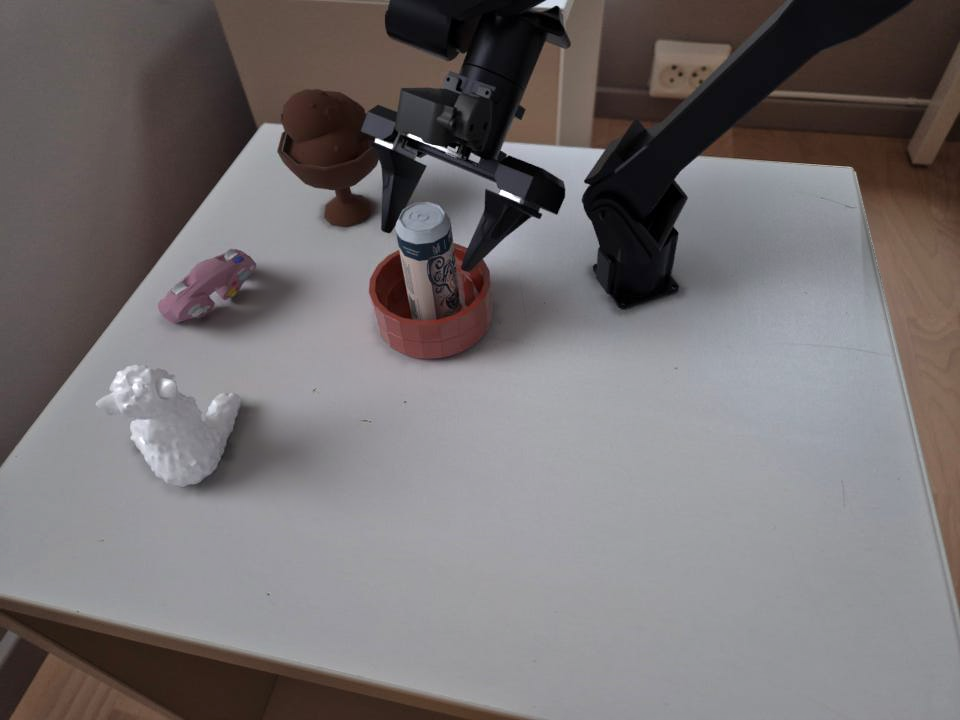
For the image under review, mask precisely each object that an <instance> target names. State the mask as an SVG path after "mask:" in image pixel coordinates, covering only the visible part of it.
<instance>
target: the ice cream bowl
mask: <svg viewBox="0 0 960 720" xmlns="http://www.w3.org/2000/svg"><path fill="white" fill-rule="evenodd" d="M366 114H367V112H366V110H365V108H364V106H362V105H361V104H360V103H359V102H358V101H355V100H354V99H353V98H351V97H349V96H348V95H346V94H345V93H342V92H341V91H335V90H332V91H331V90H322V89H319V88H314V89H307V88H305V89H302V90H299V91H298V92H295V93H293V94H291V96H289V98H288V99H287V100H286V101H285V103H284V104H283V106H282V113H281V115H280V123H281V125H282V128H283V131H282V132H281V134H280V139H279V143H278V147H277V151H276V152H277V154H278V156H279V157H280V160H281V161H282V163H283V165H284V166H286V168H288V170H289V171H291V172H292V174H294V176H296V177H297V178H298V179H299V180H300V181H301V182H302V183H304V185H307V186H309V187H312V188H314V189H320V190H329V191H334V193H335V196H334V197H333V198H332V199H331V200H329V201H328V202H327V203H326V204H325V206H324V207H325V208H324V214H323V219H325V220H326V221H327V222H328V223H329V224H330V225H331V226H336V227H341V228H348V227H351V226H355V225H359V224H362V223H363V222H364V221H366V219H367V218H369V217H370V216H371V215H372V207H373V206H372V203H371V201H369V200H368V199H367V198H366V197H365V196H364V195H362V194H357V193H353V192H352V190H351V187H354V186H356V185H358V184H359V183H360V182H361V181H362V180H364V179H366V177H367V176H369V175H370V174H371V172H372V171H373V170H374V169H375V168H376V167H377V166H378V163H379V159H378V156H377V154H376V151H375V150H374V148H372V147H369V143H368V140H370V141H373V142H374V140H375V138H373V137H371V136H369V135H367V134H365V133H363V132H360V130H361V127H362V124H363V122H364V119H365V116H366Z"/></svg>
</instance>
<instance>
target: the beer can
mask: <svg viewBox="0 0 960 720" xmlns="http://www.w3.org/2000/svg"><path fill="white" fill-rule="evenodd" d="M394 229H395V233H396V239H397V244H398V250H399V251H400V256H401V262H402V267H403V273H404V278H405V283H406V289H407V294H408V299H409V305H410V310H411V315H412V318H413V320H418V321H425V320H438V319H442V318H445V317H448V316H452V315H455V314H456V313H458V312H460V311H461V306H460V297H459V288H458V279H457V271H456V262H455V253H454V244H453V243H454V237H453V236H454V235H453V228H452V221H451V218H450V216H449V215H448V214H447V213H446V212H445V210H444V209H443V208H442V207H441V205H440V204H436V203H434V202H430V201H422V202H413V203H412V204H409V205H407V206H406V208H405V209H403V210H402V212H401V214H400V216H399V219H398V221H397V223H396V226H395V227H394Z"/></svg>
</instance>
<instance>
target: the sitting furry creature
mask: <svg viewBox="0 0 960 720" xmlns="http://www.w3.org/2000/svg"><path fill="white" fill-rule="evenodd" d="M175 379H176V375H175V374H173V373H171V374H169V373H168V370H166V369H162V368H160V367H156V368H153V369H152V368H150V367H148V365H147V364H141V365H140V364H139V363H135V364H133V365H127V366H126V367H125V368H124V369H121V370H118V371H117V372H116V375H115V377H114V379H113V380H112V382H111V383H110V386H109V391H110V393H108V394H106V395H104V396H102V397H100V398H99V399H98V400H97V401H96V403H95V406H97V407H98V408H99V409H100V410H101V411H103V412H104V413H105V414H106V415H108V416H114V415H116V414H119V413H120V415H121V417H122V419H123V420H125V419H128V418H129V419H130V418H134V419H135V420H131V422H130V425H129V426H130V427H129V428H130V433H131V435H130V437H129V438H130V440H131V441H132V442H133V443H134V444H135V447H136V448H137V449H138V450H139V451H140V453H141V454H142V456H143V457H144V460H145V462H146V463H147V465H148V466H149V467H150V468H151V470H150V471H151V472H153V473H155V477H157V478H159V479H162V480H163V481H164V483H166V484H167V485H172V486H177V487H180V488H184V487H186V486H189V485H191V486H192V485H197V484H199V483H202V481H203V480H204V479H205V478H207V477H208V476H211V475H212V474H213V473H214V471H215V470H216V469H217V468H218V465H219V462H220V461H221V459H222V455H224V453H225V448H226V447H227V441H228V438H229V437H230V435H231V433H232V432H234V426H235V425H236V419H237V417H238V415H239V411H240V409H241V403H242V399H241V396H240V395H239V394H238V393H236V392H230V393H229V394H227V393H226V392H223V393H220V394H218V395H217V396H216V397H215V398H214V399H213V400H212V401H211V403H210V405H209V406H208V407H207V412H206V414H205V417H203V412H202V410H201V409H199V407H198V405H197V403H196V402H197V399H196V397H195V396H193V395H191V396H188V395H186V394H183V393H182V392H180V391H179V390H178V384H177V381H176V380H175Z"/></svg>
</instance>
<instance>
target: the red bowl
mask: <svg viewBox="0 0 960 720" xmlns="http://www.w3.org/2000/svg"><path fill="white" fill-rule="evenodd" d="M453 244H454V253H455V262H456V271H457V279H458V288H459V297H460V306H461V311H460V312H458V313H456V314H455V315H452V316H448V317H445V318H442V319H438V320H425V321H418V320H413V318H412V315H411V310H410V305H409V299H408V294H407V289H406V283H405V278H404V273H403V267H402V262H401V256H400V251H399V249H397V250H396V251H394V252H391V253H390V254H388V255H387V256H386V257H385V258H383V260H381V261H380V262H379V263H378V264H377V265H376V266H375V269H374V270H373V272H372V274H371V276H370V277H369V282H368V283H369V284H368V296H369V299H370V304H371V307H372V312H373V315H374V320H375V324H376V327H377V330H378V332H379V335H380V337H381V339H382V340H383V341H384V342H385V343H386V344H387V345H388V346H389V347H390V348H391V349H393V350H395V351H397V352H399V353H400V354H403V355H404V356H407V357H412V358H418V359H423V360H427V359H442V358H447V357H451V356H453V355H457V354H460V353H462V352H464V351H465V350H467V349H469V348H471V347H472V346H474V345H475V344H477V343H479V341H480V340H481V339H482V337H483V336H484V335H485V334H486V333H487V332H488V330H489V328H490V325H491V323H492V320H493V317H494V316H493V301H492V286H491V285H492V283H491V272H490V268H489V267H488V265H487V263H486V262H485V259H484V258H483V259H482V260H481V261H480V262H479V263H478V264H477V265H476V266H475V267H474V268H473V269H472V270H471V271H470V272H466V271H463V270H462V269H461V266H462V263H463V259H464V256H465V253H466V251H467V248H468V247H467V246H464V245H461V244H459V243H456V242H453Z"/></svg>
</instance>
